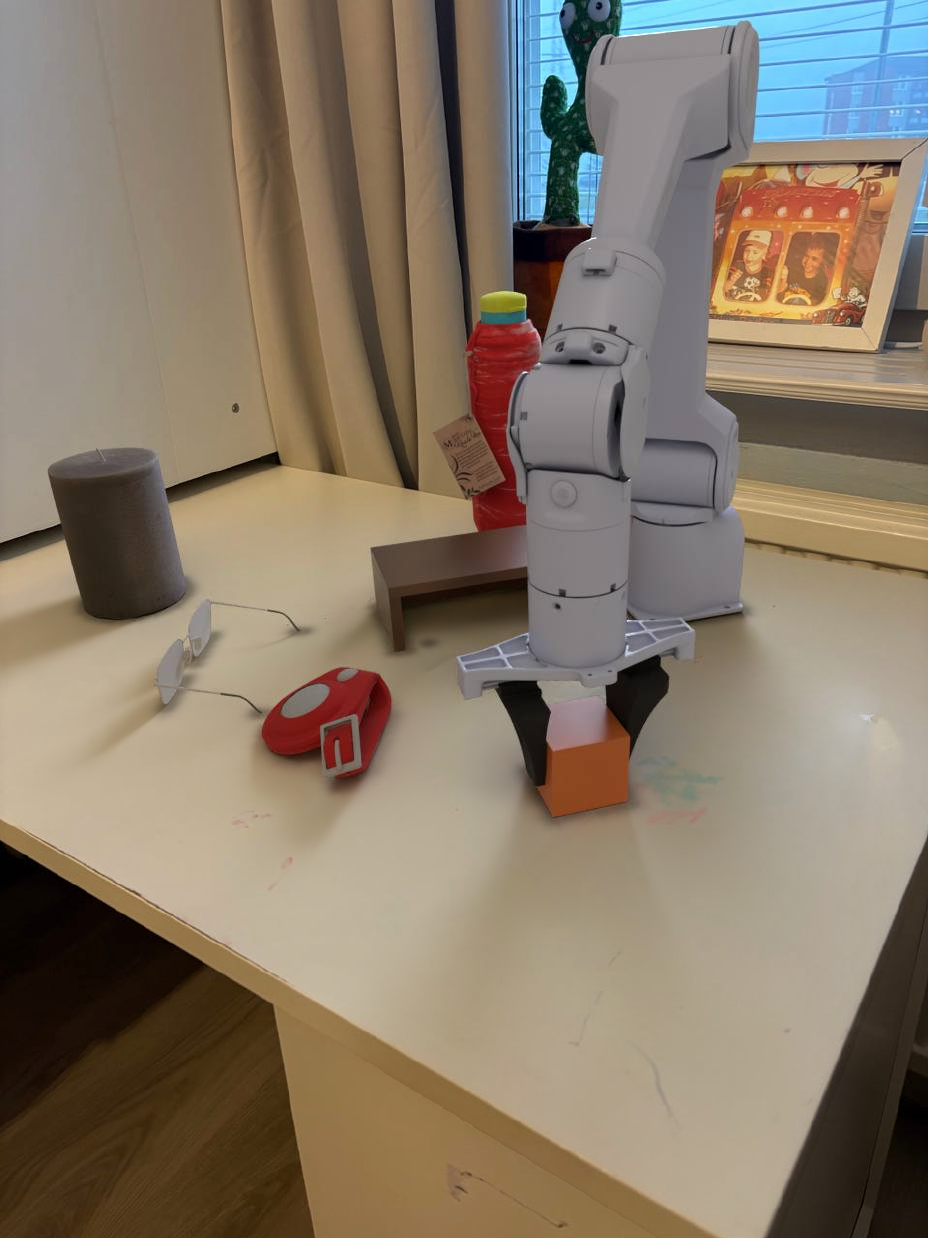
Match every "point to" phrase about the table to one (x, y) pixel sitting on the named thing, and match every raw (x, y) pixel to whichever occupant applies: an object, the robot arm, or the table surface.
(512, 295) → the water bottle
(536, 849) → the table surface
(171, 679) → the eyeglasses
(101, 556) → the pillar candle
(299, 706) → the tracker holder
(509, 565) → the shelf
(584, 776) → the plain orange wooden cube
